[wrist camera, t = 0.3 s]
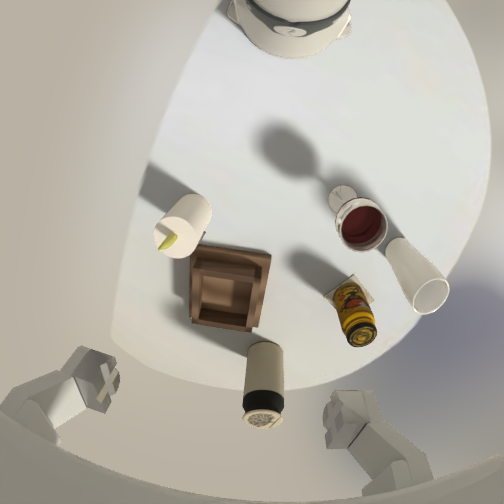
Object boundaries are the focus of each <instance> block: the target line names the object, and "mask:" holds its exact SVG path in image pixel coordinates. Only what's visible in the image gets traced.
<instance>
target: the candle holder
mask: <svg viewBox="0 0 504 504" xmlns="http://www.w3.org/2000/svg"><path fill="white" fill-rule="evenodd" d="M270 263H271V255H267V254H260V253H253V252H246V251H240V250H233V249H226V248H219V247H212V246H205V245H199V244H197V246H196V248H195V250H194V251H193V252H192V253H191V254H190V299H189V314H190V317H192V323H195V324H200V325H206V326H212V327H218V328H225V329H231V330H238V331H245V332H252V327H257V328H258V324H259V319H260V314H261V309H262V304H263V299H264V294H265V289H266V284H267V279H268V274H269V268H270Z"/></svg>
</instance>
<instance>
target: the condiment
mask: <svg viewBox="0 0 504 504" xmlns="http://www.w3.org/2000/svg"><path fill="white" fill-rule="evenodd" d="M324 297H325V298H326V299H327V300H328V301H329V303H330V304H331V305H332V306H333V307H334V308H335V309H336V310H337V313H338V317H339V320H340V324H341V327H342V331H343V333H344V334H345V335H346V337H347V341H348V343H349V344H350V345H351V346H353V347H363V346H366V345H368V344H369V343H371V342H372V341H373V340H374V339H375V337H376V335H377V329H376V327H375V319H374V316H373V313H372V311H371V308H370V306H369V304H370V303H372V302H373V301H375V300H374V299H373V298H372V296H371V295H370V294H369V293H368V291H367V290H366V289H365V288H364V286H363V285H362V284H361V283H360V281H359V280H358V279H357V278H356V276H355V275H353V276H352V277H350V278H349V279H347V280H346V281H344V282H343V283H341V284H340V285H339V286H337V287H336V288H334V289H333V290H332V291H330V292H329V293H328V294H326V295H325V296H324Z"/></svg>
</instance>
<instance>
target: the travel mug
mask: <svg viewBox="0 0 504 504" xmlns="http://www.w3.org/2000/svg"><path fill="white" fill-rule="evenodd" d="M243 408H244V410H245V414H244V415H243V421H244V423H246V424H247V425H249V426H251V427H255V428H272V427H275V426H278V425H279V424H280V423H281V422H282V421H283V418H282V416H281V411H282V410H283V408H284V372H283V351H282V349H281V348H280V347H279V346H278V345H276V344H274V343H270V342H260V343H256V344H254V345H252V346H251V347H250V348H249V350H248V356H247V366H246V376H245V386H244V395H243Z"/></svg>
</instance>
